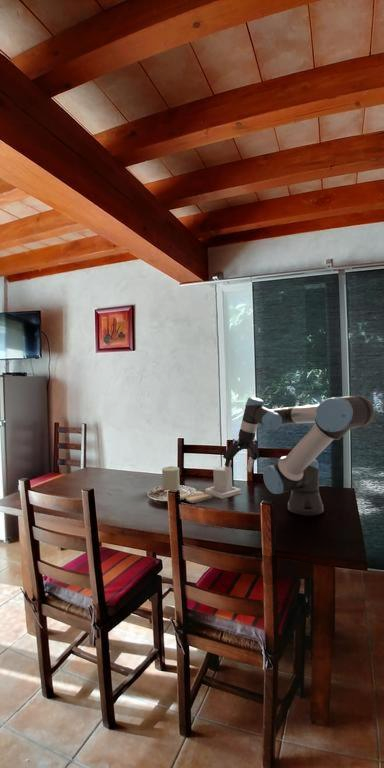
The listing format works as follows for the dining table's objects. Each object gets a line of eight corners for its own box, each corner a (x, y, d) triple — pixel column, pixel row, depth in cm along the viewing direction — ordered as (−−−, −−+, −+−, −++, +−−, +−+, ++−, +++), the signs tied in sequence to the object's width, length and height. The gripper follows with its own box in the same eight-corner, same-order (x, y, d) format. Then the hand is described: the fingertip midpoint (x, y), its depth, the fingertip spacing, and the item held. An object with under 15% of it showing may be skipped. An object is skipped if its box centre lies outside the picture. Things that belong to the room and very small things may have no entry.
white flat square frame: (241, 493, 200) (241, 489, 200) (222, 498, 193) (222, 494, 193) (224, 487, 211) (224, 483, 211) (205, 492, 203) (205, 488, 203)
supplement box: (232, 491, 203) (232, 467, 203) (226, 496, 197) (226, 470, 196) (220, 490, 207) (219, 466, 206) (213, 494, 200) (212, 469, 200)
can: (181, 487, 213) (180, 465, 213) (178, 492, 204) (178, 469, 203) (164, 487, 214) (163, 465, 214) (161, 492, 205) (160, 469, 204)
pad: (212, 497, 195) (212, 495, 195) (192, 503, 187) (192, 501, 187) (197, 492, 204) (197, 490, 204) (178, 497, 197) (178, 495, 197)
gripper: (262, 427, 194) (252, 466, 198) (222, 427, 180) (212, 469, 185) (273, 433, 188) (262, 473, 192) (231, 433, 174) (221, 477, 178)
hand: (237, 471), depth 188 cm, fingers open, 13 cm apart
